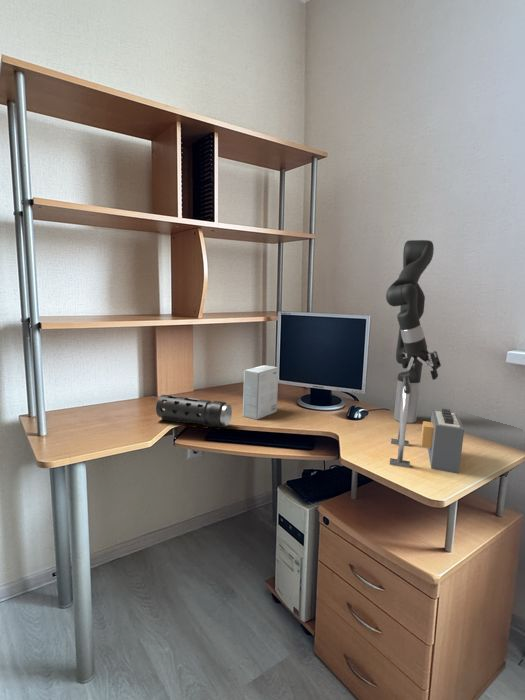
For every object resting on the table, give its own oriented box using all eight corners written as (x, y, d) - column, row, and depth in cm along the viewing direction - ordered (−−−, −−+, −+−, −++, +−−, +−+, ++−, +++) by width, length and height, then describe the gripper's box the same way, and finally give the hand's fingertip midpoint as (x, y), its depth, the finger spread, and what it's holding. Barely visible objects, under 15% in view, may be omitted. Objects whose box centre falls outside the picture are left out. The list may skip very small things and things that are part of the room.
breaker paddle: (420, 440, 145) (423, 421, 144) (436, 443, 144) (438, 423, 143) (421, 446, 140) (423, 426, 139) (438, 449, 138) (440, 428, 137)
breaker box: (427, 448, 151) (432, 405, 149) (452, 452, 149) (457, 408, 146) (431, 468, 134) (436, 419, 132) (458, 473, 132) (465, 423, 129)
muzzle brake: (167, 416, 173) (168, 391, 172) (232, 425, 166) (233, 399, 164) (155, 423, 164) (155, 396, 163) (222, 433, 156) (223, 406, 155)
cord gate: (391, 441, 157) (397, 374, 153) (408, 443, 155) (415, 376, 151) (389, 464, 136) (397, 387, 132) (409, 467, 134) (417, 389, 130)
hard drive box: (262, 408, 190) (265, 364, 187) (277, 412, 186) (279, 367, 183) (241, 416, 178) (243, 369, 175) (256, 420, 173) (259, 372, 171)
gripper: (436, 333, 151) (447, 374, 155) (402, 334, 162) (412, 373, 166) (425, 341, 147) (437, 383, 150) (391, 342, 158) (402, 382, 162)
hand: (424, 378), depth 158 cm, fingers open, 8 cm apart
